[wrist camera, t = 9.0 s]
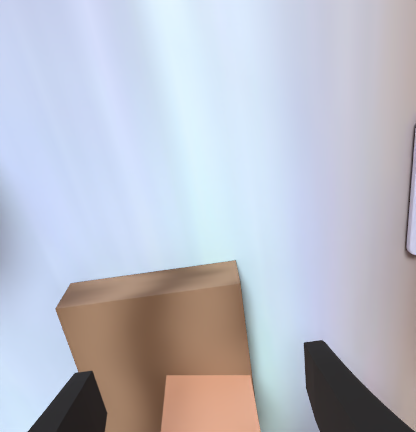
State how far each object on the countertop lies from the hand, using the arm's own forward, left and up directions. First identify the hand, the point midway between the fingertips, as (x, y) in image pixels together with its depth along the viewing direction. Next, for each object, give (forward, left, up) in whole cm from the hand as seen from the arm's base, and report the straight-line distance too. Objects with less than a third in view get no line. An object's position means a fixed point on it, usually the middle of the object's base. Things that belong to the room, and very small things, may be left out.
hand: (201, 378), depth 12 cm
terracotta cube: (+1, +10, -7) cm, 12 cm away
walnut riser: (+3, +8, -9) cm, 13 cm away
